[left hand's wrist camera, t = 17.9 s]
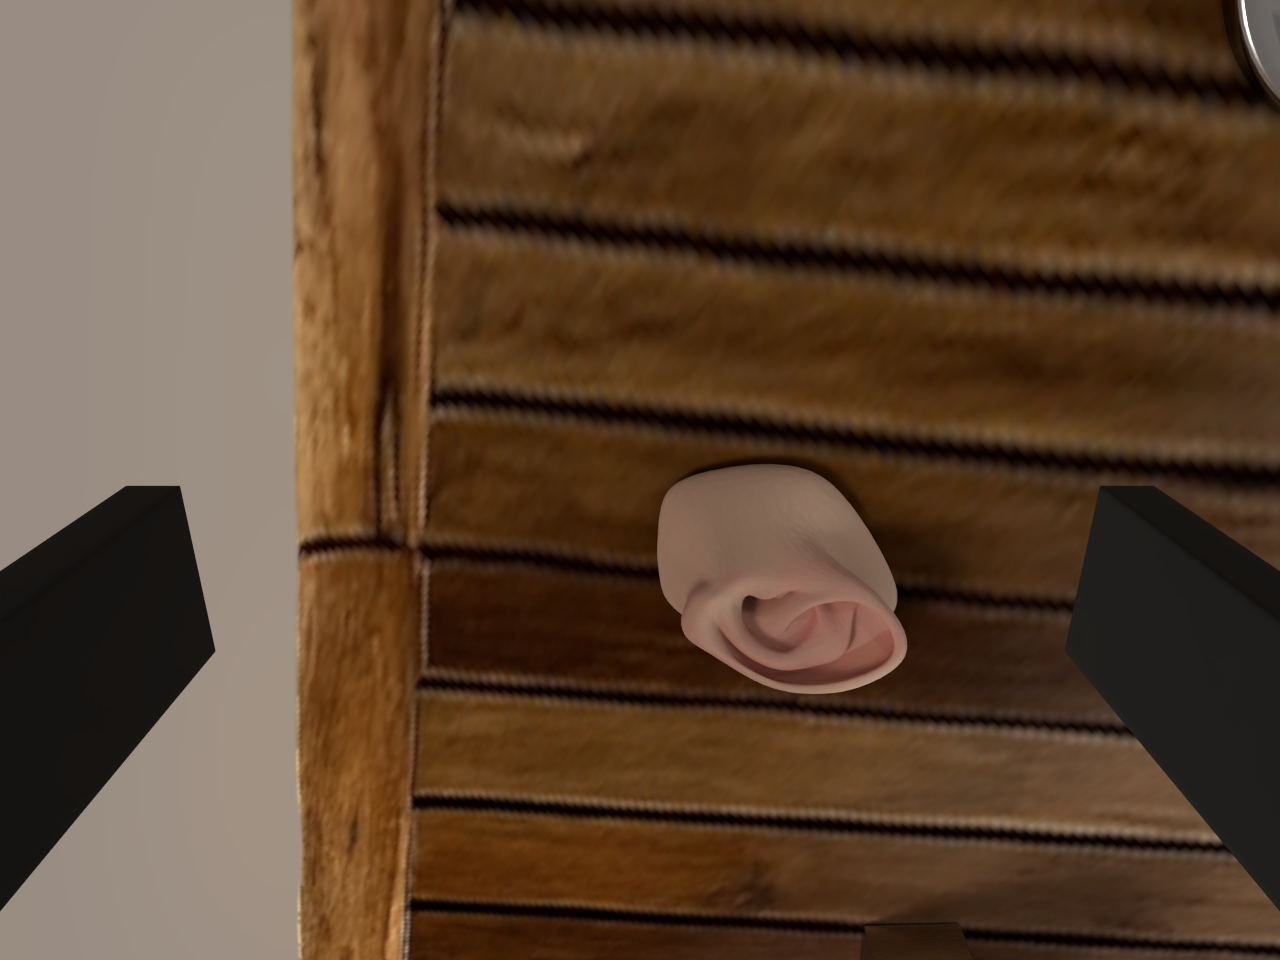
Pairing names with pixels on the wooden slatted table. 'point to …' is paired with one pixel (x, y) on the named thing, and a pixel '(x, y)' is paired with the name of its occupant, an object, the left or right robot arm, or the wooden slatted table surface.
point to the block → (914, 942)
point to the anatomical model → (779, 578)
